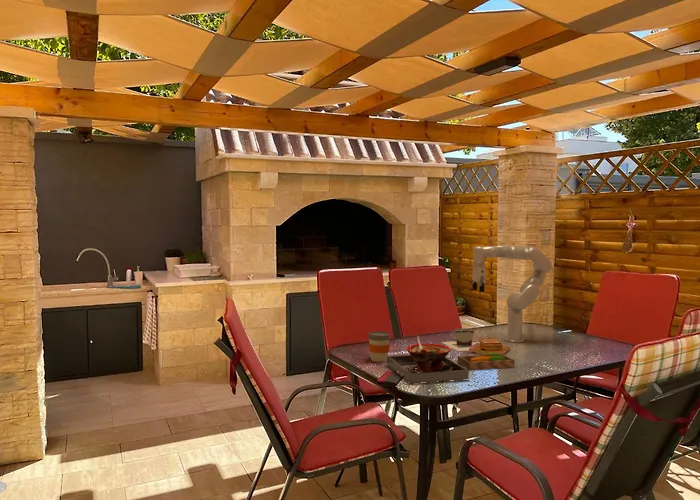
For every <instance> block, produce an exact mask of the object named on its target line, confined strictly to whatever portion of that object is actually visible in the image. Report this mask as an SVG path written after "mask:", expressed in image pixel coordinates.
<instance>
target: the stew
mask: <svg viewBox="0 0 700 500" xmlns="http://www.w3.org/2000/svg"><path fill="white" fill-rule="evenodd" d="M416 340H417V343H416V344H412V345H409V346H407V347H406V350H407V353H408V354H409V355H411V357H412V358H413V359H414V361H415V362H412V363H410V364H409V367H410V368H411V369H413V370H414V371H415V370H416V371H415V372H414V371H413V370H412V371H413V372H414V373H416V372H421V373H427V372H442V371H451V370H452V369H453V367H451V366H450V365H449V364H448V363H444V362H442V361H443V360H444V358H445V357H447V356H448V355H449V353H451V350H452V348H450V347H449V346H447V345H445V344H439V343H421V339H420V335H418V334H417V337H416ZM414 363H417V364H414ZM412 365H413V366H412ZM417 367H419V368H418V369H415V368H417ZM422 371H423V372H422Z"/></svg>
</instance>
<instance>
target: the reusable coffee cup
mask: <svg viewBox="0 0 700 500" xmlns="http://www.w3.org/2000/svg"><path fill="white" fill-rule="evenodd" d="M367 338H368V341H369V342H368V349H369V350H368V351H369V352H370V361H373V362H375V363H377V362H378V363H379V362H381V363H382V362H387V356H389V355H388V354H389V352H390V346H391V343H390V340H391V333H390V332H388V331H378V330H377V331H376V330H375V331H370V332H368V337H367Z"/></svg>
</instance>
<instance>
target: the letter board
mask: <svg viewBox="0 0 700 500" xmlns="http://www.w3.org/2000/svg"><path fill="white" fill-rule="evenodd" d="M441 344H442V345H444V346H447V347H449V348H450V349H451V350H454V351H456V352H458V353H459V352H470V351H469V348H470V347H471V346H457V342H456V341H441ZM473 344H476V343H475V342H473V341H472V345H473Z"/></svg>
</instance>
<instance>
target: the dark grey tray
mask: <svg viewBox="0 0 700 500" xmlns="http://www.w3.org/2000/svg"><path fill="white" fill-rule="evenodd" d="M412 362H415V361H414V359H413V358H412V357H411V355H410V354H406V355H404V354H403V355H402V354H401V355H387V360H386V366H387V367H388V368H389V369H390V370H391V371H393V372H394V371H399V372H402V373H404V379H405V380H406V381H405V380H404V379H403V380H404V381H405V382H407V381H408V382H409V383H421V382H437V381H450V380H463V379H468V380H469V371H470V370H468V369H466V368H465V367H463V366H461V365H460V364H458V362H455V361H453V360H452V359H450V358H448V357H447V356H446V357H445V358H444V360H443V361H442V362H444V363H448V364H449V365H450V366H451V367H453V369H452V370H451V371H442V372H427V373H422V372H420V373H416V372H413V373H411V372H410V371H409V370H408V369H406V368H404V367H403V366H404V365H405V366H406V365H409V366H410V363H412ZM414 365H417V363H414ZM408 382H407V383H408ZM409 383H408V384H409ZM437 383H438V382H437Z"/></svg>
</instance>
